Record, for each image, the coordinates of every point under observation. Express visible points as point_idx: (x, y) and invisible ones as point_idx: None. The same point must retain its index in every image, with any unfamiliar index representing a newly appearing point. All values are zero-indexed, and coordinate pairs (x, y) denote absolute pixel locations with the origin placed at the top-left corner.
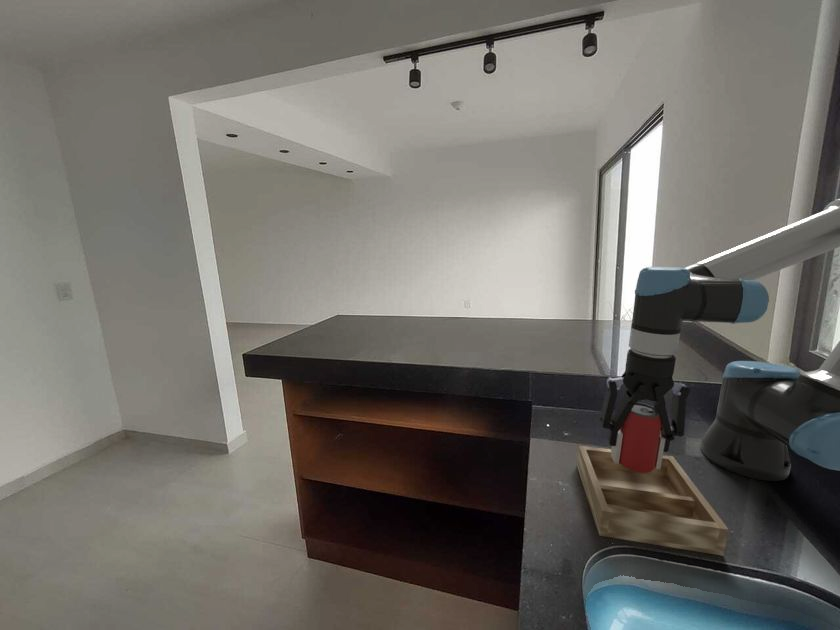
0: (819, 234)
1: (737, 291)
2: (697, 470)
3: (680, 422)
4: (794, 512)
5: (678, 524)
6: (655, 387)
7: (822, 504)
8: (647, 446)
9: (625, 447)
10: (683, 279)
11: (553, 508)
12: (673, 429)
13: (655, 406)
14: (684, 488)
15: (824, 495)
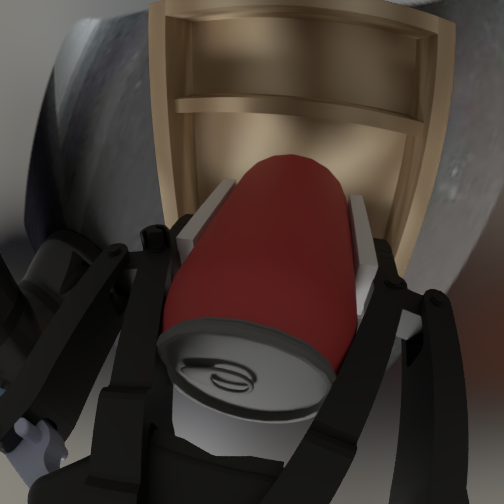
0: None
1: None
2: (139, 247)
3: (88, 288)
4: (52, 166)
5: None
6: None
7: (31, 192)
8: (268, 194)
9: (344, 218)
10: None
11: (493, 114)
12: (131, 273)
13: (166, 391)
14: (180, 151)
15: (28, 210)
